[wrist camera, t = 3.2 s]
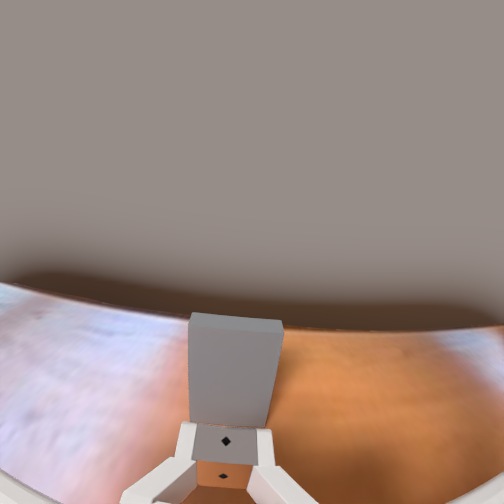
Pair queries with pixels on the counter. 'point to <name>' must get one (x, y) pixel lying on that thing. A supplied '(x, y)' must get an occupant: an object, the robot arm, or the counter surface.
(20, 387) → the counter surface
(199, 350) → the grey upright panel
